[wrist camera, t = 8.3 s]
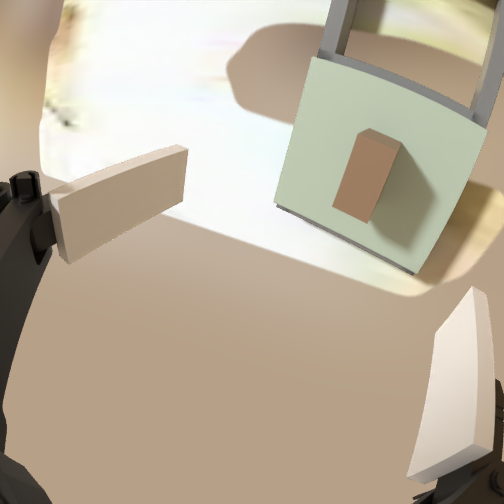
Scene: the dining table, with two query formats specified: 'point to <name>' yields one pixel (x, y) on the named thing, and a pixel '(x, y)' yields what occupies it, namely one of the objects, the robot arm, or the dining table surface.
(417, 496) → the robot arm
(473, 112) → the rectangular frame
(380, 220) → the sliding cover
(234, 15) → the dining table surface
